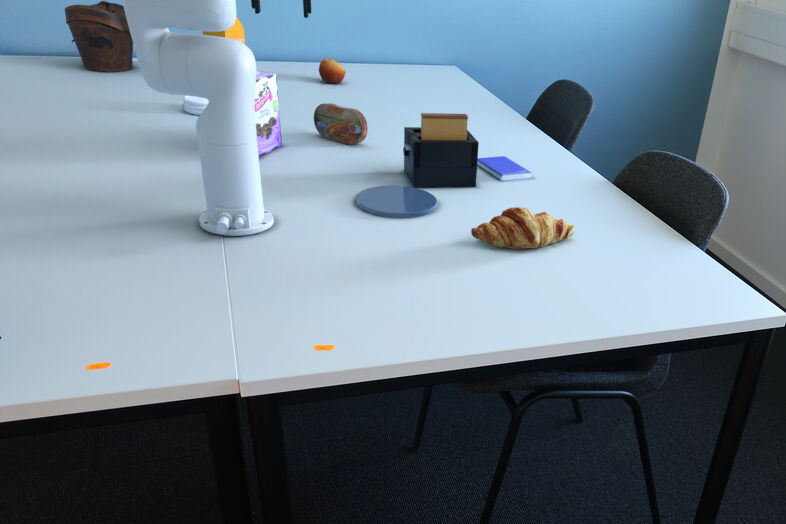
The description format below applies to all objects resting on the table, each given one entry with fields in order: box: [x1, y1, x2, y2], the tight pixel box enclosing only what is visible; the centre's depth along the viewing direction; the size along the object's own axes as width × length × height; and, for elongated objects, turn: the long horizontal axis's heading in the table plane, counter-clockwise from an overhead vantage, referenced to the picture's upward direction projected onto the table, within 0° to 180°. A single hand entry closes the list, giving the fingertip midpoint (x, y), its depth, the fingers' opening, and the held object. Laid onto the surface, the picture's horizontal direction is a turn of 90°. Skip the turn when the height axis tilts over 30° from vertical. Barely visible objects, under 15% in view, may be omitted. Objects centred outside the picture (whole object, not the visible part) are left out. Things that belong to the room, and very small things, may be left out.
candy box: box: [255, 70, 283, 158], centre depth 167 cm, size 14×6×16 cm, turn 168°
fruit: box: [318, 58, 346, 85], centre depth 233 cm, size 8×8×8 cm
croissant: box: [470, 206, 577, 250], centre depth 141 cm, size 21×10×8 cm, turn 114°
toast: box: [420, 112, 469, 140], centre depth 161 cm, size 2×10×10 cm, turn 109°
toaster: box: [402, 126, 479, 189], centre depth 165 cm, size 11×15×10 cm
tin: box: [313, 102, 368, 146], centre depth 182 cm, size 15×3×8 cm, turn 62°
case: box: [64, 0, 134, 72], centre depth 217 cm, size 18×20×18 cm
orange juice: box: [202, 15, 246, 45], centre depth 219 cm, size 8×9×20 cm
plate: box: [356, 184, 438, 219], centre depth 152 cm, size 16×16×1 cm
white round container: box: [182, 95, 209, 116], centre depth 193 cm, size 10×10×4 cm
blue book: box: [477, 155, 533, 182], centre depth 177 cm, size 2×8×12 cm
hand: (282, 15), depth 156 cm, fingers open, 9 cm apart
